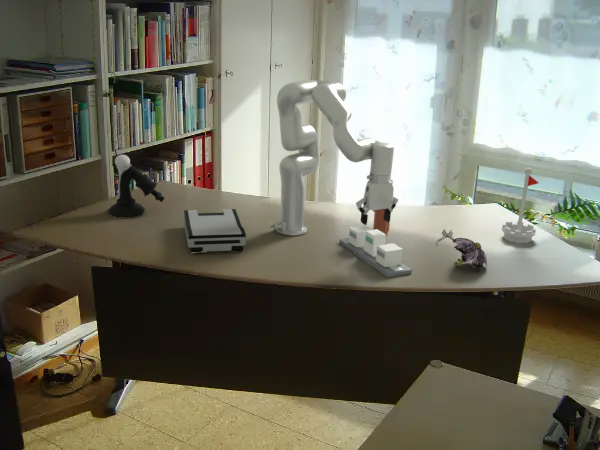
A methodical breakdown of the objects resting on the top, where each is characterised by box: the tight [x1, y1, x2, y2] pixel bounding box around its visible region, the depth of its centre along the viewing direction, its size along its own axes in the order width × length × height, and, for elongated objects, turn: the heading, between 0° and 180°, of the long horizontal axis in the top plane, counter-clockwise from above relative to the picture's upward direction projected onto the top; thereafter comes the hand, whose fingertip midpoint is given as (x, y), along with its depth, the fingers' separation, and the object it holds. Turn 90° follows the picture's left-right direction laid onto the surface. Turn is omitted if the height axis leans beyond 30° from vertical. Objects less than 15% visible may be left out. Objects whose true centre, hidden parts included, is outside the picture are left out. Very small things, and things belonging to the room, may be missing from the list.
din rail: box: [347, 237, 403, 272], centre depth 257 cm, size 4×34×1 cm, turn 26°
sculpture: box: [107, 154, 165, 218], centre depth 290 cm, size 15×24×25 cm, turn 94°
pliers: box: [435, 228, 460, 247], centre depth 279 cm, size 10×1×20 cm
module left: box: [348, 224, 373, 247], centre depth 264 cm, size 7×6×6 cm
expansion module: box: [364, 229, 387, 257], centre depth 256 cm, size 5×6×8 cm
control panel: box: [372, 179, 394, 237], centre depth 278 cm, size 21×7×15 cm
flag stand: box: [501, 167, 539, 244], centre depth 278 cm, size 13×13×30 cm
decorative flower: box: [452, 237, 488, 272], centre depth 251 cm, size 15×12×15 cm
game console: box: [183, 208, 247, 253], centre depth 267 cm, size 21×32×8 cm, turn 12°
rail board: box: [338, 237, 413, 279], centre depth 257 cm, size 10×35×2 cm, turn 26°
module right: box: [376, 243, 404, 267], centre depth 247 cm, size 7×6×6 cm
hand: (375, 222), depth 253 cm, fingers open, 9 cm apart
